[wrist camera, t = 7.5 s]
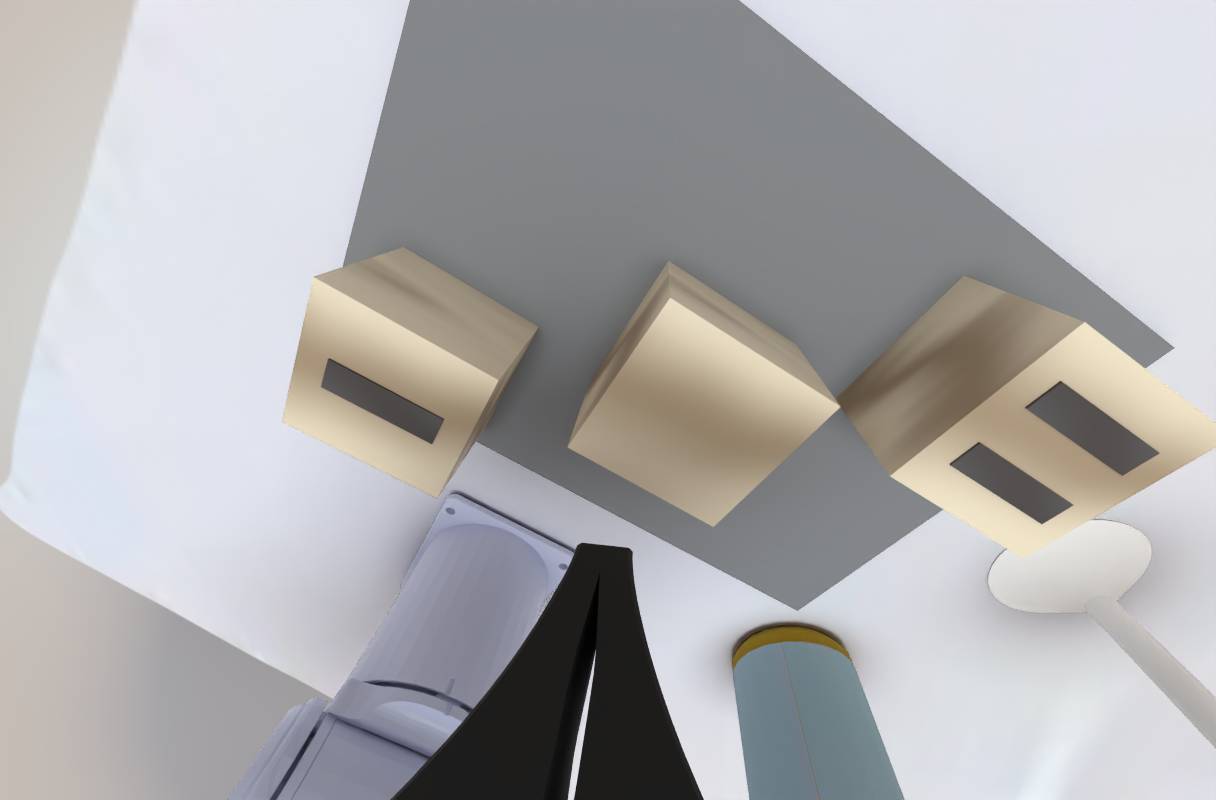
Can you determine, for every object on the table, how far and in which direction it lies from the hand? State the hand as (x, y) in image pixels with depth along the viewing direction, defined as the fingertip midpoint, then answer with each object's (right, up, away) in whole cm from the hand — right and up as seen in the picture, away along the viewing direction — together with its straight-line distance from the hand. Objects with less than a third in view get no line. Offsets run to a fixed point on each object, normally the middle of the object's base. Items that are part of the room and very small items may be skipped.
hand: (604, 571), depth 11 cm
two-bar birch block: (+14, +5, +6) cm, 16 cm away
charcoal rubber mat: (+4, +7, +7) cm, 10 cm away
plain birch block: (+3, +6, +7) cm, 10 cm away
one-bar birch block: (-7, +7, +7) cm, 12 cm away
